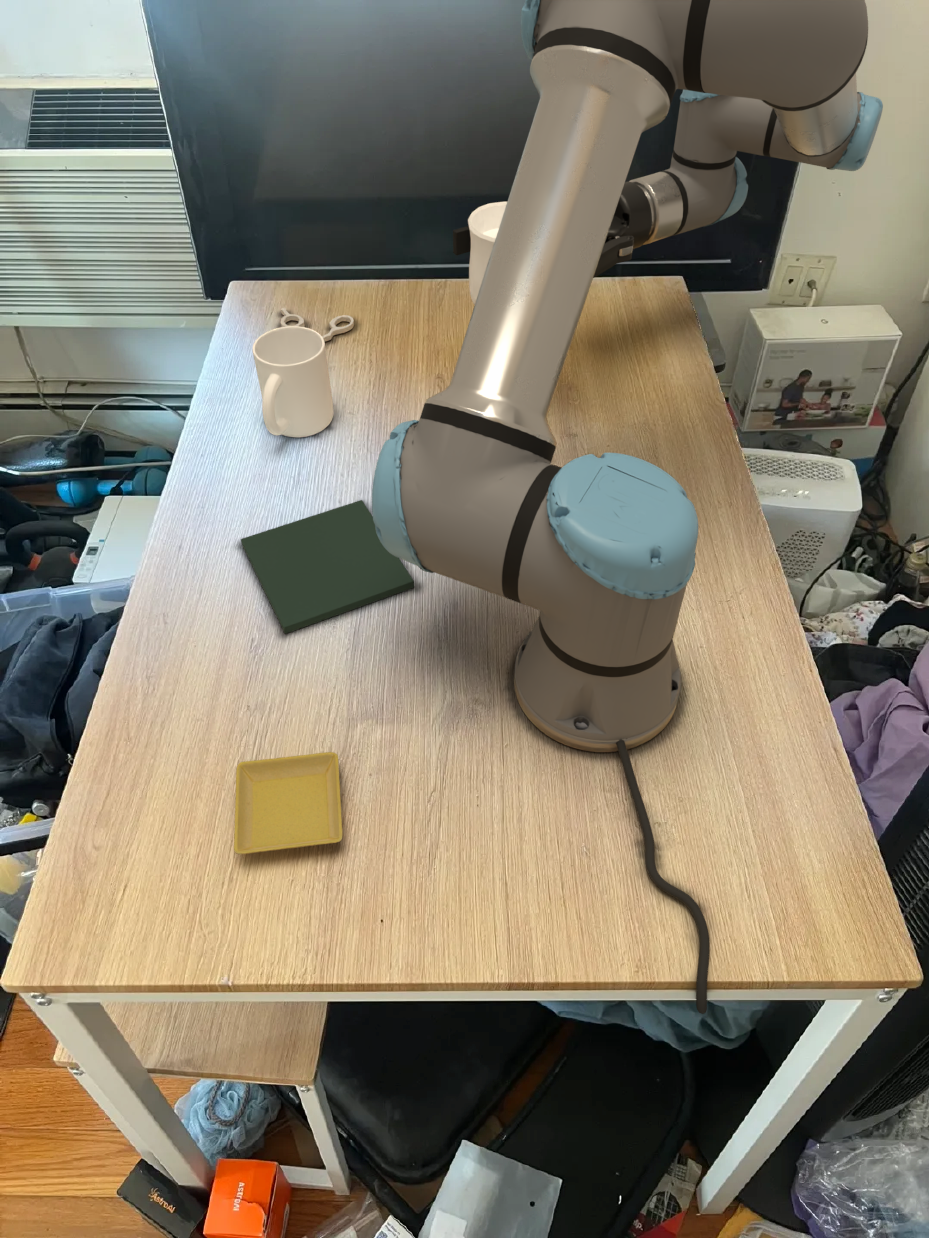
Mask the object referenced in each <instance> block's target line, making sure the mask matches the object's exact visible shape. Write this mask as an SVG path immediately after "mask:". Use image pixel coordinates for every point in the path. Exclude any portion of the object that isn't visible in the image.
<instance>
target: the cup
mask: <svg viewBox="0 0 929 1238" xmlns="http://www.w3.org/2000/svg"><path fill="white" fill-rule="evenodd" d="M506 204H507V201H498V202H497V201H496V202H490V203H487V204H483V205H481V206H478V207H477V208H475V210H473V211H471V214H470V215H469V216H468V218H467V224H468V226H469V229H470V237H471V251H470V252H469V264H468V288H469V289H468V290H469V296H470V299H471V302H472V304H473V306H475V303H476V299H477V296H478V293H479V290H480V287H481V284H482V280H483V277H484V274H485V271H486V268H487V265H488V261H489V258H490V255H491V252H492V249H493V246H494V242H495V239H496V236H497V233H498V230H499V227H500V223H501V220H502V217H503V214H504V211H505V208H506Z"/></svg>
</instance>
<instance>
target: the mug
mask: <svg viewBox="0 0 929 1238" xmlns="http://www.w3.org/2000/svg"><path fill="white" fill-rule="evenodd" d="M322 336H323V335H322V334H320V333H319V332H317V331H316V330H314V329H312V328H309V327H305V326H304V327H299V326H294V325H289V326H288V327H281V326H280V327H277V328H272V329H271V330H268V331H266V332H264V333H263V334H260V336H258V337H257V338H256V339H255V340H254V342H253V344H252V350H251V351H252V355H253V359H254V365H255V369H256V374H257V379H258V385H259V389H260V395H261V401H262V403H261V406H262V408H261V409H262V411H261V412H262V418H263V422H264V425H265V427H266V429H267V431H268V432H269V433H270V434H271V435H273V436H285V437H289V438H306V437H310V436H311V437H312V436H314V435H316V434H319V433H320V432H322V431H324V430H325V429H326V428H327V427H328V426H329V425H330V424H331V422H332V421H333V418H334V411H335V410H334V401H333V394H332V388H331V387H332V386H331V379H330V373H329V364H328V357H327V350H326V343H325V342H326V341H325V342H324V339H323V337H322Z"/></svg>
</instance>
